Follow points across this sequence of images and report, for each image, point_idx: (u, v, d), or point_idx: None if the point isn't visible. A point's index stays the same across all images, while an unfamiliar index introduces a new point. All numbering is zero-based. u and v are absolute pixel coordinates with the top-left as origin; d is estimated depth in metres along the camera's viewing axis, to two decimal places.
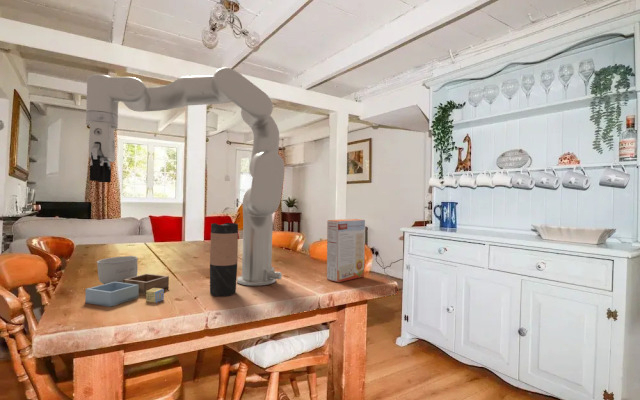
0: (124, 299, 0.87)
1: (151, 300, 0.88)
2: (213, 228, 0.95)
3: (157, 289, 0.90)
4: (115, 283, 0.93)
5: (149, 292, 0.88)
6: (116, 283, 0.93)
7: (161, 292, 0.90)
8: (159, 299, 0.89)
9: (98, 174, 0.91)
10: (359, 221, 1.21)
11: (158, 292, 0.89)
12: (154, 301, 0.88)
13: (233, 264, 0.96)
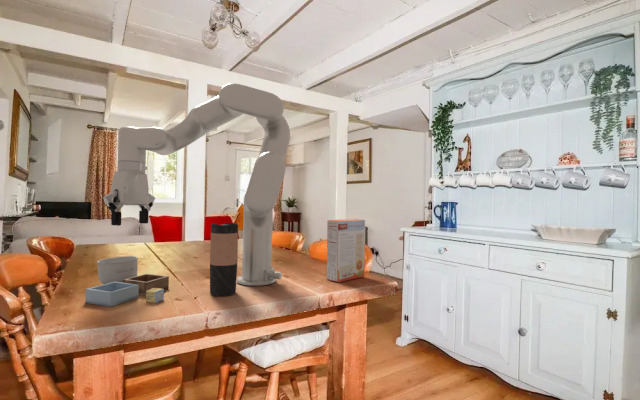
0: (124, 299, 0.87)
1: (151, 300, 0.88)
2: (213, 228, 0.95)
3: (157, 289, 0.90)
4: (115, 283, 0.93)
5: (149, 292, 0.88)
6: (116, 283, 0.93)
7: (161, 292, 0.90)
8: (159, 299, 0.89)
9: None
10: (359, 221, 1.21)
11: (158, 292, 0.89)
12: (154, 301, 0.88)
13: (233, 264, 0.96)
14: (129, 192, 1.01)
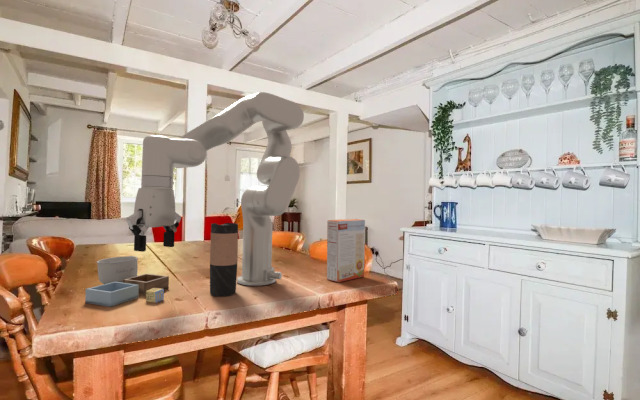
0: (124, 299, 0.87)
1: (151, 300, 0.88)
2: (213, 228, 0.95)
3: (157, 289, 0.90)
4: (115, 283, 0.93)
5: (149, 292, 0.88)
6: (116, 283, 0.93)
7: (161, 292, 0.90)
8: (159, 299, 0.89)
9: None
10: (359, 221, 1.21)
11: (158, 292, 0.89)
12: (154, 301, 0.88)
13: (233, 264, 0.96)
14: (156, 212, 0.86)
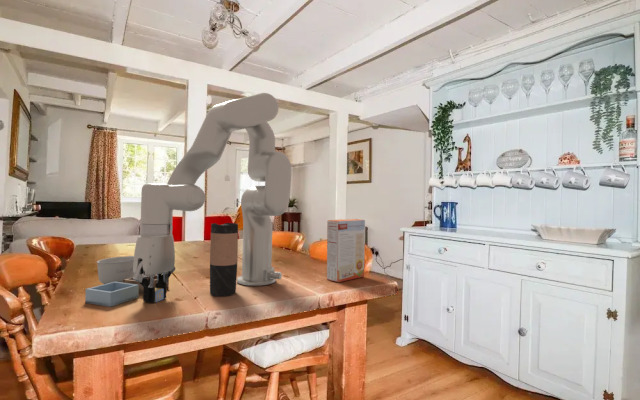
0: (124, 299, 0.87)
1: None
2: (213, 228, 0.95)
3: (157, 289, 0.90)
4: (115, 283, 0.93)
5: None
6: (116, 283, 0.93)
7: (161, 292, 0.90)
8: (159, 299, 0.89)
9: None
10: (359, 221, 1.21)
11: (158, 292, 0.89)
12: None
13: (233, 264, 0.96)
14: (155, 260, 0.86)
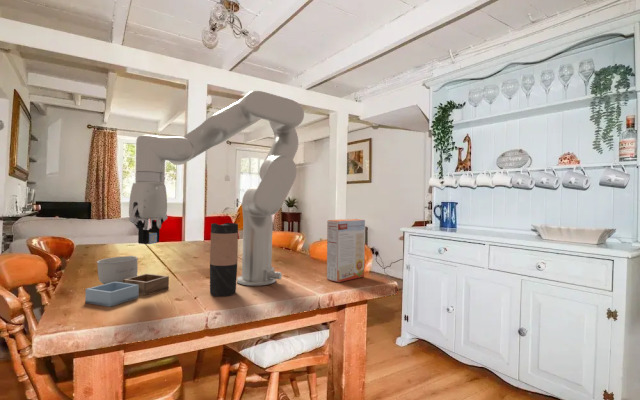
0: (124, 299, 0.87)
1: None
2: (213, 228, 0.95)
3: (151, 233, 0.98)
4: (115, 283, 0.93)
5: None
6: (116, 283, 0.93)
7: (154, 235, 0.98)
8: (153, 241, 0.97)
9: None
10: (359, 221, 1.21)
11: (152, 235, 0.97)
12: None
13: (233, 264, 0.96)
14: (149, 204, 0.95)
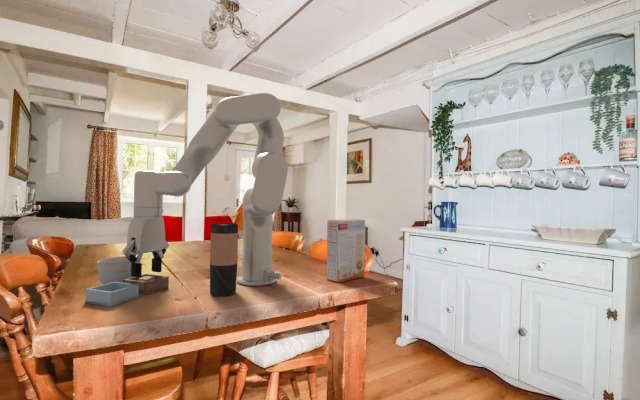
0: (124, 299, 0.87)
1: None
2: (213, 228, 0.95)
3: (148, 277, 1.00)
4: (115, 283, 0.93)
5: (141, 279, 0.98)
6: (116, 283, 0.93)
7: (152, 279, 1.00)
8: None
9: None
10: (359, 221, 1.21)
11: (149, 279, 0.98)
12: None
13: (233, 264, 0.96)
14: (147, 239, 0.96)
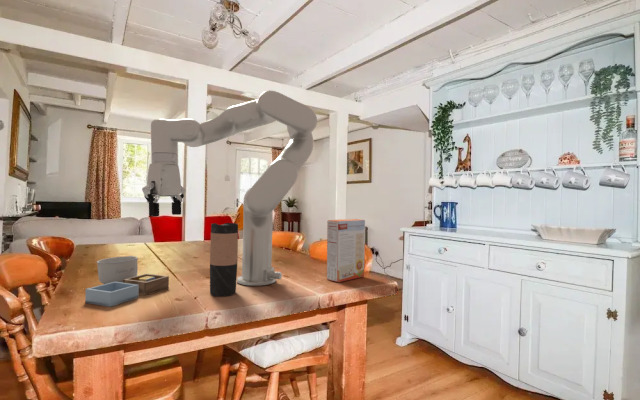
0: (124, 299, 0.87)
1: None
2: (213, 228, 0.95)
3: (149, 277, 1.00)
4: (115, 283, 0.93)
5: (141, 279, 0.98)
6: (116, 283, 0.93)
7: None
8: None
9: None
10: (359, 221, 1.21)
11: (149, 279, 0.98)
12: None
13: (233, 264, 0.96)
14: (165, 183, 1.02)
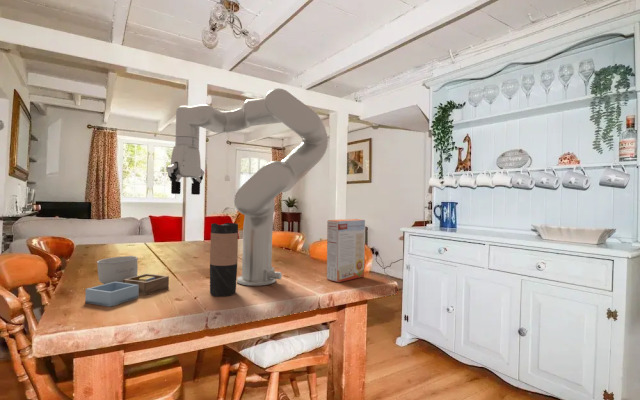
0: (124, 299, 0.87)
1: None
2: (213, 228, 0.95)
3: (149, 277, 1.00)
4: (115, 283, 0.93)
5: (141, 279, 0.98)
6: (116, 283, 0.93)
7: None
8: None
9: None
10: (359, 221, 1.21)
11: (149, 279, 0.98)
12: None
13: (233, 264, 0.96)
14: (187, 164, 1.13)
